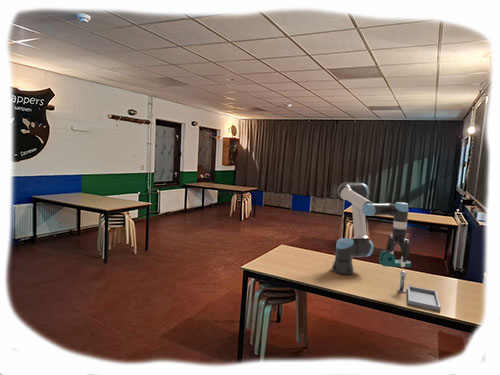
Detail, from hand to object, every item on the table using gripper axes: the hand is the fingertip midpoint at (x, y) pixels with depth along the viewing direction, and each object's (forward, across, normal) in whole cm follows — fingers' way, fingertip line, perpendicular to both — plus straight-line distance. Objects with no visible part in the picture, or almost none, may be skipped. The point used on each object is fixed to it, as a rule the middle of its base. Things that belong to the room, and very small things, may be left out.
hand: (396, 264), depth 201 cm
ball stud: (+18, +1, -7) cm, 20 cm away
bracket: (+1, 0, +1) cm, 1 cm away
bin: (+19, -12, -10) cm, 24 cm away
